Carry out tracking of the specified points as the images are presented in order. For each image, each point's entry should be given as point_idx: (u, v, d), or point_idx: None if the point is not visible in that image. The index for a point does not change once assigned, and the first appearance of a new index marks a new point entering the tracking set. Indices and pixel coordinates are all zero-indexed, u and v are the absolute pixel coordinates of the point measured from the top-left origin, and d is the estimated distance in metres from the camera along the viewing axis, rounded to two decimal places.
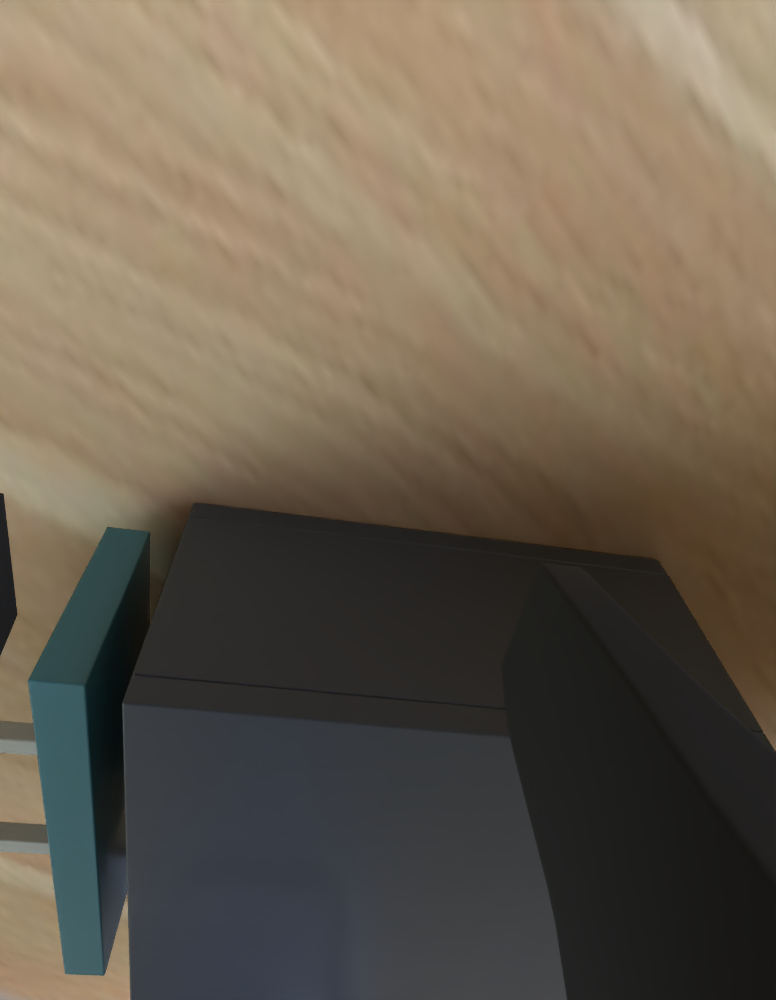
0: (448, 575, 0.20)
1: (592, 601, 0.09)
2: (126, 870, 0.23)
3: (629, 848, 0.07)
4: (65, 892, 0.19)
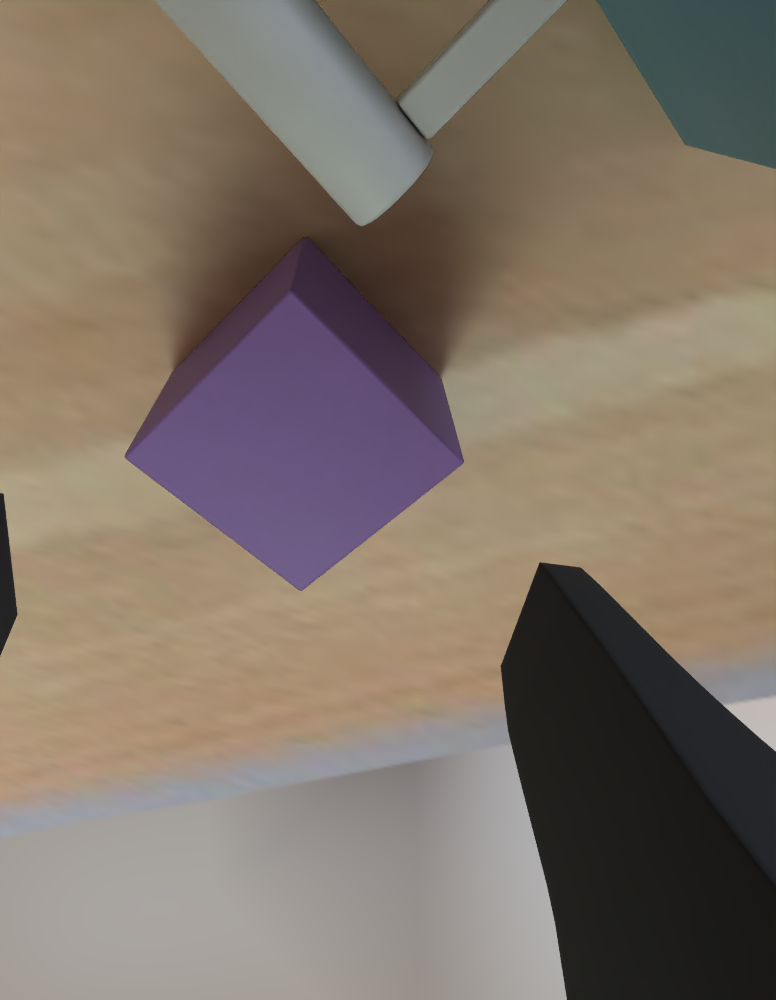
0: None
1: (591, 601, 0.09)
2: None
3: (629, 848, 0.07)
4: None
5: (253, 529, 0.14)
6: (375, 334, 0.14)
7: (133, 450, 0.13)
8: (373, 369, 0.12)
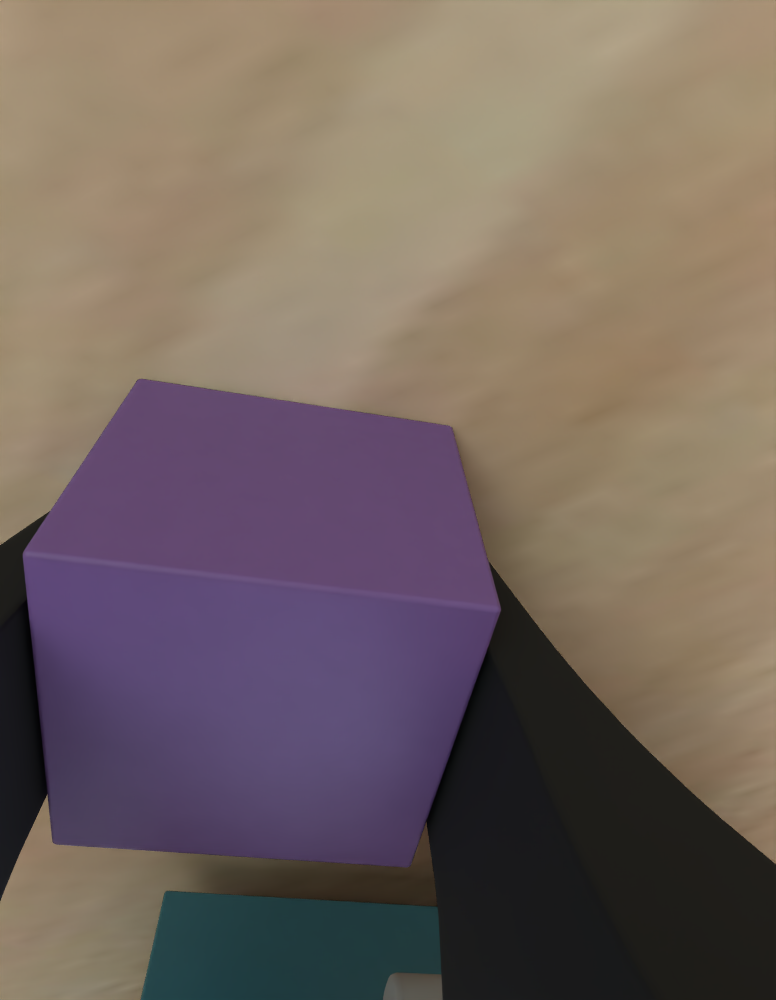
0: None
1: None
2: None
3: (490, 838, 0.07)
4: None
5: (217, 616, 0.07)
6: None
7: (491, 627, 0.07)
8: (260, 854, 0.09)
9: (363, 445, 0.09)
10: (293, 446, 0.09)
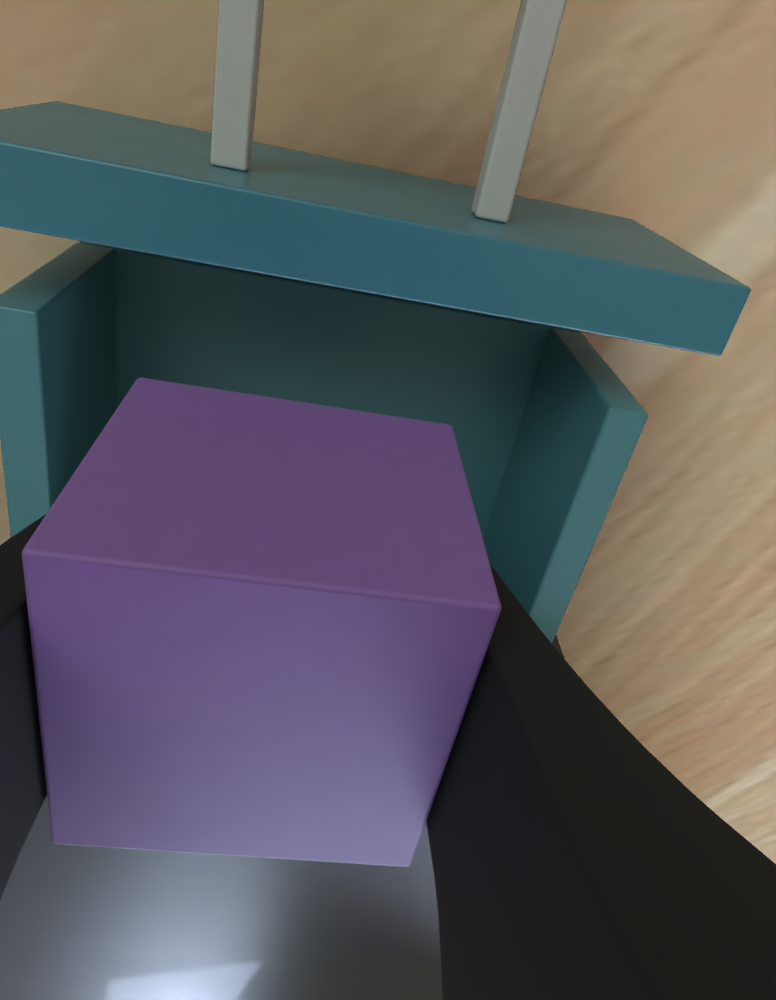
0: None
1: None
2: None
3: (490, 838, 0.07)
4: (244, 211, 0.11)
5: (216, 615, 0.07)
6: None
7: (492, 625, 0.07)
8: (260, 853, 0.09)
9: (363, 444, 0.09)
10: (293, 445, 0.09)
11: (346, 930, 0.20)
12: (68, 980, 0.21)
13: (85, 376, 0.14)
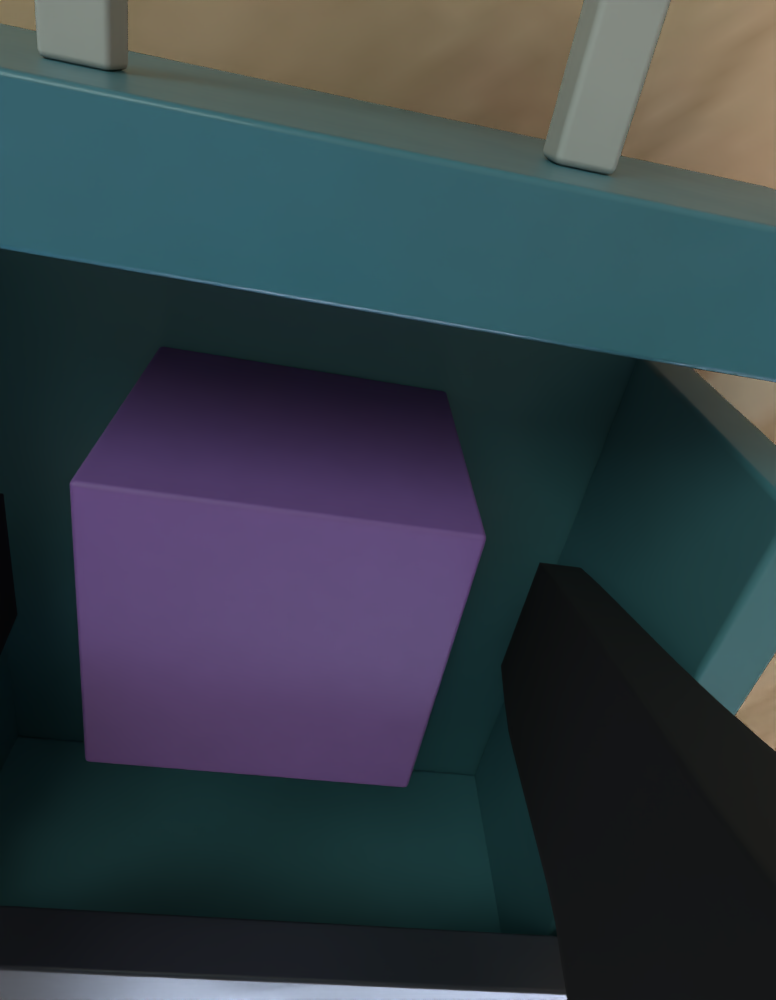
0: None
1: (591, 601, 0.09)
2: None
3: (629, 848, 0.07)
4: (77, 134, 0.05)
5: (237, 542, 0.08)
6: None
7: (478, 554, 0.08)
8: (272, 773, 0.10)
9: (365, 405, 0.10)
10: (302, 404, 0.10)
11: None
12: None
13: None
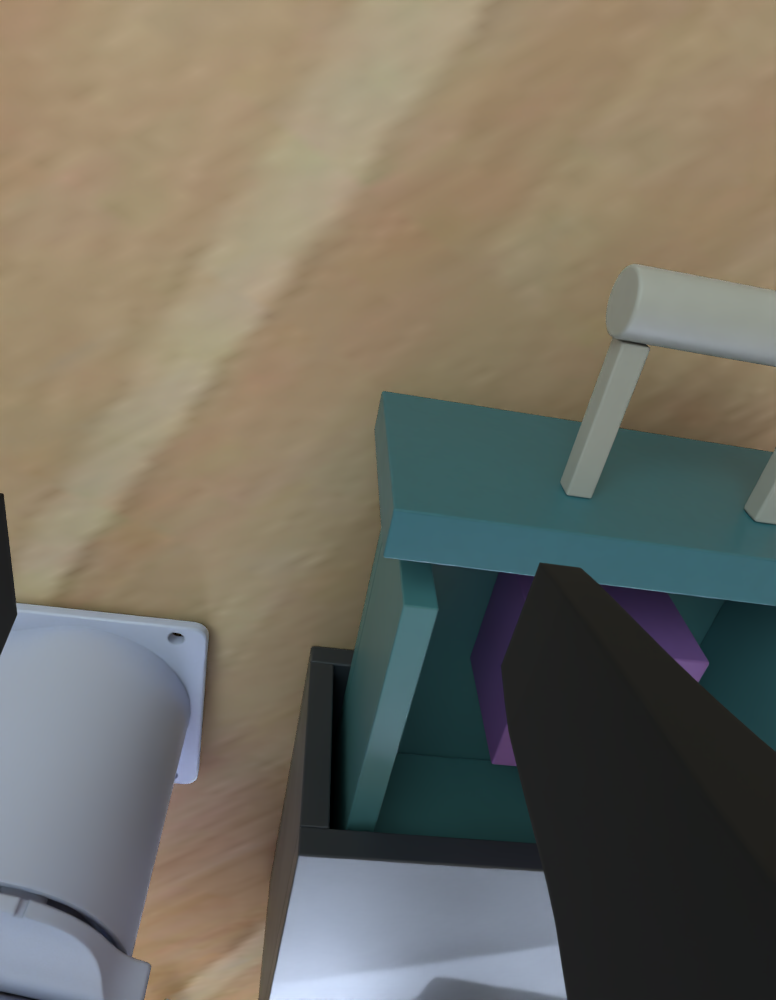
0: None
1: (591, 601, 0.09)
2: None
3: (629, 848, 0.07)
4: (616, 551, 0.14)
5: None
6: None
7: (704, 669, 0.17)
8: None
9: None
10: None
11: None
12: None
13: None
